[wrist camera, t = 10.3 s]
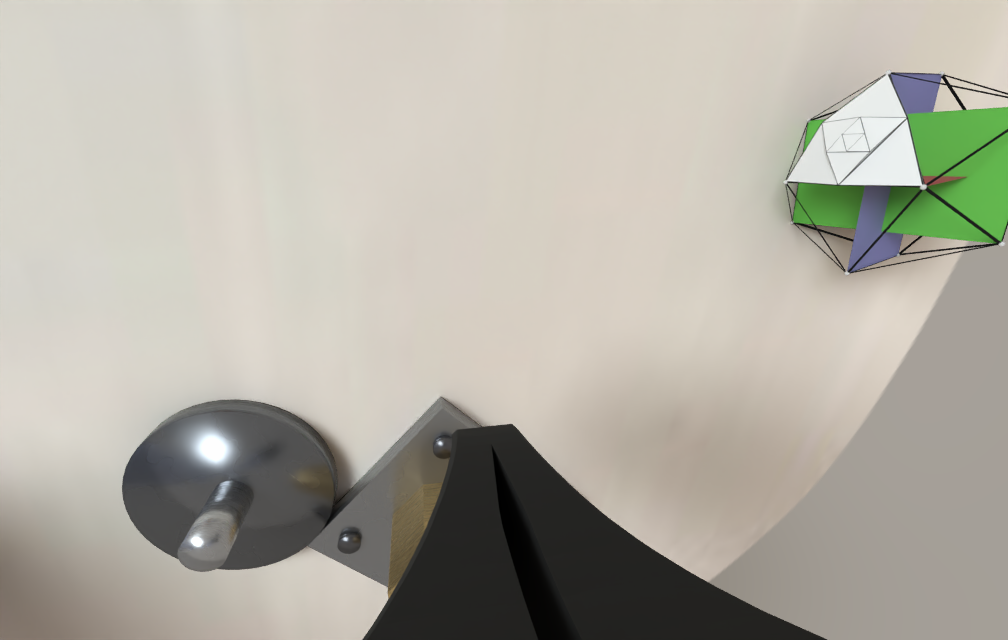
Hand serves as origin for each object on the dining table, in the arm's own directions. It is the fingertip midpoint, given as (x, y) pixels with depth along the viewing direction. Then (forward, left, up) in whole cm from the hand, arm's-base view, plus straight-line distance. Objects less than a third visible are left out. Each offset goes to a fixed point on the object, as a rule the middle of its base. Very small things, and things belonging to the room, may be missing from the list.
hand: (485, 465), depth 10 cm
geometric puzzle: (+15, -8, -10) cm, 20 cm away
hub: (-8, -7, -10) cm, 14 cm away
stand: (-12, +2, -10) cm, 15 cm away
